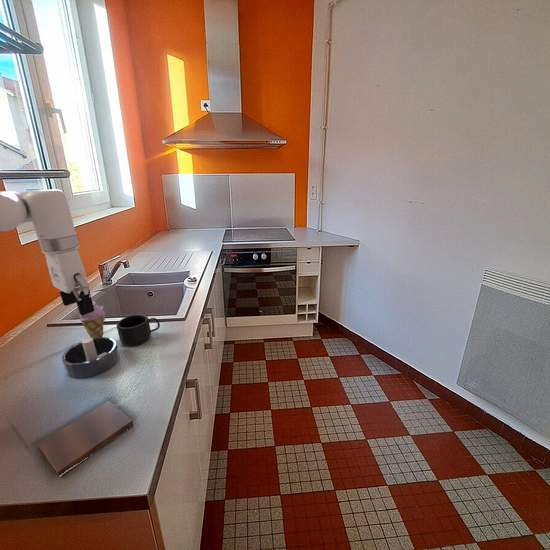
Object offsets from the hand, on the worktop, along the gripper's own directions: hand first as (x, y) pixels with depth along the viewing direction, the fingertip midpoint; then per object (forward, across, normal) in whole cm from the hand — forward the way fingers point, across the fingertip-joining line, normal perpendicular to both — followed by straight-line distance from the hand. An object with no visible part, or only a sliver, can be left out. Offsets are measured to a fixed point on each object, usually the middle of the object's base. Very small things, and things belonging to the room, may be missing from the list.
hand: (79, 308), depth 77 cm
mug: (+18, -2, +15) cm, 24 cm away
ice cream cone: (+18, -10, +6) cm, 21 cm away
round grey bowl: (+18, -1, 0) cm, 18 cm away
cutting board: (+18, +23, -12) cm, 32 cm away
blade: (+17, -1, 0) cm, 17 cm away
